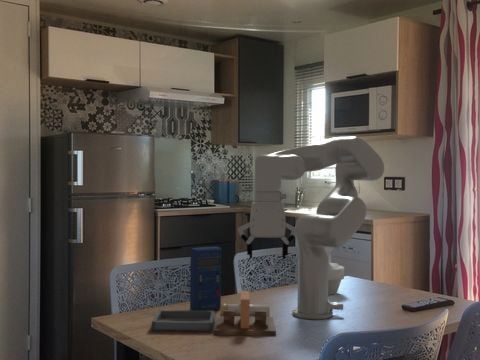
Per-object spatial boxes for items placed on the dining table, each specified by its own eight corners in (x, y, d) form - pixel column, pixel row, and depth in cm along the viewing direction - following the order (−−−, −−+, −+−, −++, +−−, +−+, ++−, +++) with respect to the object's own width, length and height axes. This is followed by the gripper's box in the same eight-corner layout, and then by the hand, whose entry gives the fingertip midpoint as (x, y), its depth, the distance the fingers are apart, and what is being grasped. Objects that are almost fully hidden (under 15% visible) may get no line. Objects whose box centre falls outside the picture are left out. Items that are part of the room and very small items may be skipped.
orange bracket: (248, 318, 162) (248, 291, 161) (249, 328, 151) (249, 299, 151) (240, 318, 162) (240, 291, 161) (240, 328, 151) (240, 299, 151)
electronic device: (195, 313, 172) (196, 249, 171) (188, 309, 176) (189, 247, 176) (222, 309, 177) (222, 247, 176) (214, 306, 181) (215, 245, 181)
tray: (214, 319, 165) (214, 310, 165) (212, 332, 152) (212, 322, 152) (158, 318, 165) (158, 310, 165) (151, 331, 152) (151, 322, 152)
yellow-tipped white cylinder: (268, 316, 158) (269, 303, 158) (269, 318, 155) (269, 305, 155) (220, 315, 158) (220, 302, 158) (220, 317, 155) (220, 304, 155)
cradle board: (272, 321, 163) (272, 302, 163) (275, 335, 149) (276, 315, 149) (216, 320, 163) (216, 302, 163) (213, 334, 149) (214, 314, 149)
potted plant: (346, 296, 196) (347, 227, 196) (314, 296, 196) (315, 227, 196) (340, 289, 209) (341, 224, 208) (310, 288, 209) (311, 223, 208)
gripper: (296, 197, 160) (296, 255, 160) (237, 197, 160) (237, 255, 160) (299, 198, 152) (298, 260, 152) (237, 198, 152) (236, 259, 153)
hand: (267, 257), depth 156 cm, fingers open, 9 cm apart
